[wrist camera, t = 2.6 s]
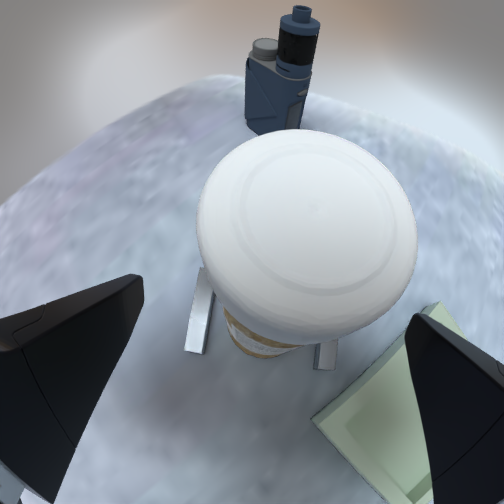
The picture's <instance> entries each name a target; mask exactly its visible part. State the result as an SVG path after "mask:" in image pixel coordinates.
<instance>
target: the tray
mask: <svg viewBox="0 0 504 504" xmlns="http://www.w3.org/2000/svg"><path fill="white" fill-rule="evenodd" d="M421 313H422V314H426V315H428V316H429V317H431V318H433V319H434V320H436V321H437V322H439V323H441V324H442V325H444V326H445V327H447V328H448V329H450V330H452V331H453V332H455V333H456V334H458V335H459V336H461V337H462V338H464V339H466V340H467V338H466V337H465V335H464V334H463V332H462V331H461V329H460V328H459V326H458V325H457V323H456V322H455V321H454V319H453V318H452V316H451V315H450V313H449V312H448V311H447V309H446V308H445V306H444V305H443V304H442V302H441V301H439V302H436V303H434V304H432V305H430V306H427V307H425V308H424V309H423V310H422V312H421ZM406 330H407V329H406ZM406 330H405V331H404V332H403V333H402V334H401V335H400V336H399V338H398V339H397V340H396V341H395V342H394V343H393V344H392V345H391V346H390V347H389V348H388V349H387V350H386V351H385V352H384V353H383V354H382V355H381V356H380V357H379V358H378V359H377V360H376V361H375V362H374V363H373V364H372V365H371V366H370V367H369V368H368V369H367V370H366V371H365V372H364V373H363V374H362V375H361V376H360V377H359V378H357V379H356V380H355V381H354V382H353V383H352V384H351V385H350V386H349V387H348V388H346V389H345V390H344V391H343V392H342V393H341V394H340V395H338V396H337V397H336V398H335V399H334V400H333V401H331V402H330V403H329V404H328V405H327V406H325V407H324V408H323V409H322V410H321V411H319V412H318V413H317V414H316V415H314V416H313V417H312V418H311V420H312V422H313V423H314V424H315V425H316V426H317V427H318V429H319V430H320V431H321V432H322V433H323V434H324V435H325V437H326V438H327V439H328V440H329V441H330V442H331V443H332V445H333V446H334V447H335V448H336V449H337V450H338V451H339V452H340V454H341V455H342V456H343V457H344V458H345V459H346V460H347V461H348V462H349V463H350V465H351V466H352V467H353V468H354V469H355V470H356V471H357V472H358V473H359V474H360V475H361V476H362V477H363V479H364V480H365V481H366V482H367V483H368V484H369V485H370V486H371V487H372V488H373V489H374V490H375V491H376V492H377V493H378V494H379V495H380V496H381V497H382V498H383V499H384V500H385V501H386V502H387V503H388V504H427V503H428V502H430V501H431V500H432V499H433V490H432V481H431V473H430V466H429V460H428V454H427V448H426V442H425V437H424V432H423V427H422V422H421V417H420V412H419V408H418V404H417V399H416V395H415V391H414V387H413V383H412V379H411V375H410V369H409V363H408V357H407V351H406V346H405V340H404V335H405V332H406ZM467 341H468V340H467Z"/></svg>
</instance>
